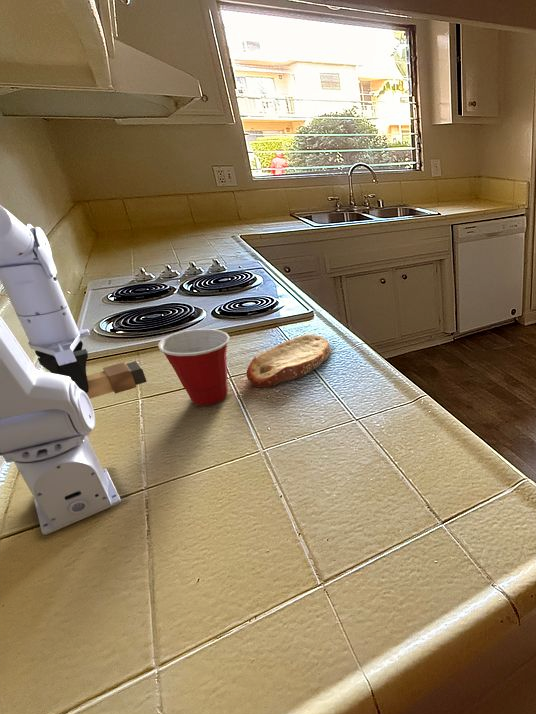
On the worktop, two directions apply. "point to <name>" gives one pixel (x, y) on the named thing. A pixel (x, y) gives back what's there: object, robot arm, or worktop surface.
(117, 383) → the brush
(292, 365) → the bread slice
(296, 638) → the worktop surface
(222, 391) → the plastic cup
